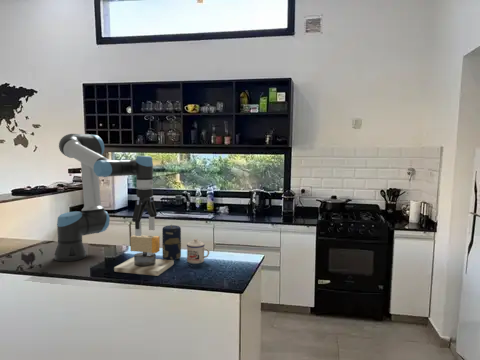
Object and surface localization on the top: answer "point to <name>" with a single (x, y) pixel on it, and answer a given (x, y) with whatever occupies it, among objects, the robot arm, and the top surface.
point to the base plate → (144, 267)
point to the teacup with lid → (196, 251)
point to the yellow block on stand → (145, 249)
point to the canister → (171, 242)
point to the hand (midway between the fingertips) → (145, 232)
